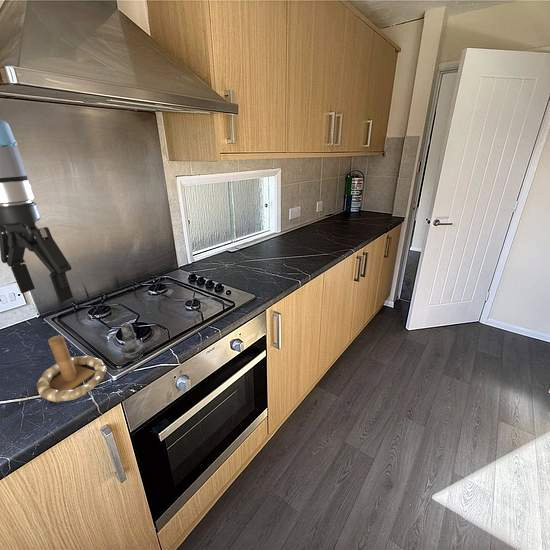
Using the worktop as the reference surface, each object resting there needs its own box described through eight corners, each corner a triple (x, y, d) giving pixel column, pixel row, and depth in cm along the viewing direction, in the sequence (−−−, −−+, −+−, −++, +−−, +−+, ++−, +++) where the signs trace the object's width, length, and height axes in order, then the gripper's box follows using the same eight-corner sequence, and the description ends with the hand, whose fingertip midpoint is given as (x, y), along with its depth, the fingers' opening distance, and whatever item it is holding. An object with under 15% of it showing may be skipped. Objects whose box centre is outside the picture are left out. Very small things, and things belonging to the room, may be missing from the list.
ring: (23, 393, 70) (20, 385, 69) (74, 355, 83) (73, 348, 82) (73, 411, 67) (71, 403, 66) (118, 369, 80) (117, 362, 79)
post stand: (46, 389, 74) (27, 345, 68) (76, 368, 81) (60, 327, 75) (68, 397, 71) (49, 352, 66) (97, 375, 78) (82, 332, 72)
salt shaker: (138, 348, 88) (129, 314, 83) (150, 355, 85) (141, 320, 80) (119, 359, 83) (108, 323, 79) (130, 367, 80) (120, 330, 76)
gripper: (72, 202, 59) (98, 296, 67) (-3, 197, 68) (30, 281, 76) (31, 209, 53) (67, 312, 61) (-45, 203, 61) (-5, 293, 70)
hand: (46, 295), depth 68 cm, fingers open, 13 cm apart
